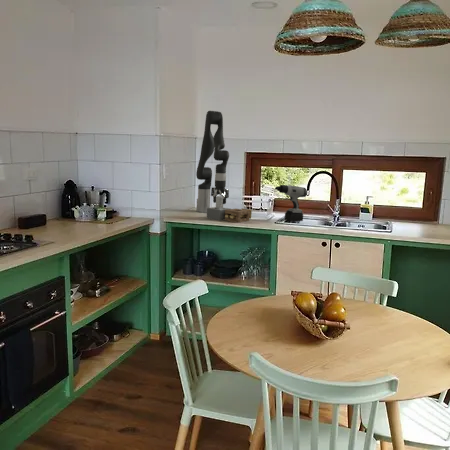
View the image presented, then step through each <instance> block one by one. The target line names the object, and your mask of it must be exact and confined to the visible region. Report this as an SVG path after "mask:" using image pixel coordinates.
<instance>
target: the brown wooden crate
mask: <svg viewBox="0 0 450 450" xmlns="http://www.w3.org/2000/svg"><path fill="white" fill-rule="evenodd" d="M241 209H242V210H248V211H250V217H249V220H250V219H252V213H253V210H252V209H250V208H249V209H248V208H241ZM225 217H230V218H236V215H234V214H229V215H225ZM241 217H245V214H244V215H241Z"/></svg>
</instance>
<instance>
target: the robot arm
mask: <svg viewBox="0 0 450 450" xmlns="http://www.w3.org/2000/svg"><path fill="white" fill-rule="evenodd" d="M204 121H205V123H204V124H205V125H204V133H203V138H202V144H201V150H200V155H199V159H198V163H197V168H196V171H195V172H196V173H195V175H196V179H197V180H201V181H203V182H202V183H200V184H198V185H197V198H196V212H198V213H207V208H211V197H212V202H213V203H214V204H216V197H218V196H219V195H220V197H223V205H225V204H226V203H227V199H228V198H229V196H230V195H229V192H230V191H229V189H228V188H226V186H227V185H226V184H227V182H226V181H227V175H226V174H227V173H226V172H227V165H228V162H229V158H230V153H229V151H228V150H225V147H226V145H225V140H224V139H225V138H224V120H223V113H222V111H217V110H208V111H207V112H206V114H205V120H204ZM212 125H215V126H217V129H216V131H215V133H214V135H213V134H212V131H211V126H212ZM212 155H213V159H214V160H215V161H219V162H221V163H219V164H216V165H215V173H214V187H211V186H212V179H213V170H212V168H211V167H209V166H207V167H206V163H207V161H208V160H209V159H210V157H212Z"/></svg>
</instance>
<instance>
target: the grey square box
mask: <svg viewBox="0 0 450 450" xmlns="http://www.w3.org/2000/svg"><path fill="white" fill-rule="evenodd" d="M229 209H230V208H228V207H223V209H216V206H212V207H210V208H207V212H206V219H210V220H215V221H226V220H225V210H229Z"/></svg>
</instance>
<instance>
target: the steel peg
mask: <svg viewBox="0 0 450 450" xmlns="http://www.w3.org/2000/svg"><path fill="white" fill-rule="evenodd" d="M215 207H216V209H223V208H224V204H223V197H222V196H216V203H215Z"/></svg>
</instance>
